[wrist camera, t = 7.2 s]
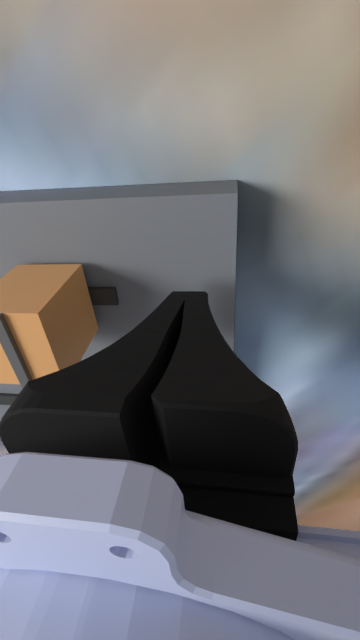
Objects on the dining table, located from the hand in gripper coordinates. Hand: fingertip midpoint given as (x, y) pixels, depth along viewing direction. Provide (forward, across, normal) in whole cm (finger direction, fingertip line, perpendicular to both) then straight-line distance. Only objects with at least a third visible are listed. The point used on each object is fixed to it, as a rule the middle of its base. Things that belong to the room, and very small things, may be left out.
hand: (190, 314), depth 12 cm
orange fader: (+1, +6, 0) cm, 6 cm away
